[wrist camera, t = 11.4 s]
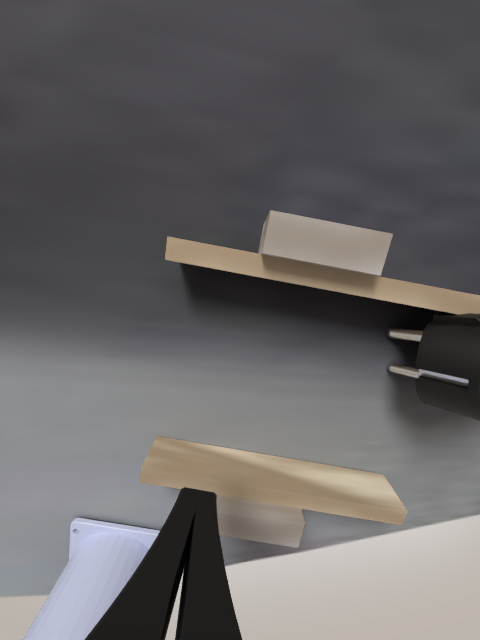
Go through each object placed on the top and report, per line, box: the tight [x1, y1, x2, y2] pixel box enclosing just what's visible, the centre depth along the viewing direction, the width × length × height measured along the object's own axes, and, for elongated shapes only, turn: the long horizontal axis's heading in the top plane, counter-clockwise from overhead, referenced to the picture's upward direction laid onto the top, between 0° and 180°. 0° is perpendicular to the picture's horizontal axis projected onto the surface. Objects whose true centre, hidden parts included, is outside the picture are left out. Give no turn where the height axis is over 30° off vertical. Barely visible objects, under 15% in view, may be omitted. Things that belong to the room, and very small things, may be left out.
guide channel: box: [140, 210, 480, 548], centre depth 16 cm, size 20×18×4 cm
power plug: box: [387, 312, 480, 420], centre depth 16 cm, size 6×8×12 cm
